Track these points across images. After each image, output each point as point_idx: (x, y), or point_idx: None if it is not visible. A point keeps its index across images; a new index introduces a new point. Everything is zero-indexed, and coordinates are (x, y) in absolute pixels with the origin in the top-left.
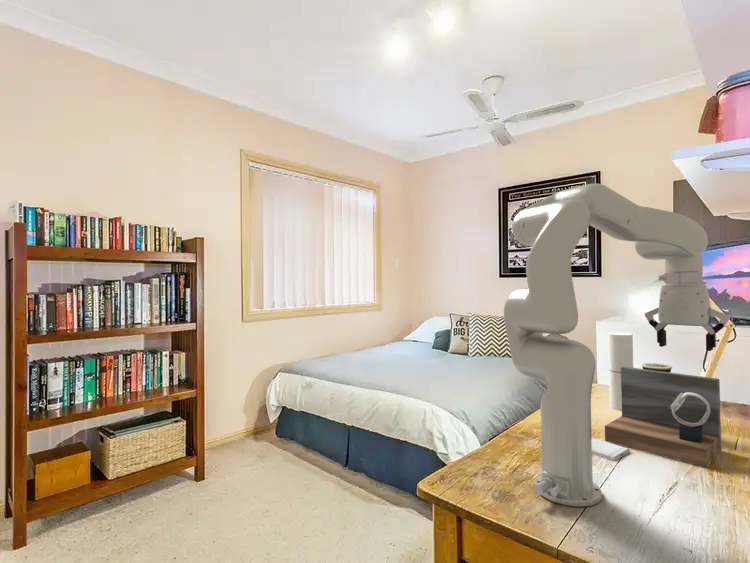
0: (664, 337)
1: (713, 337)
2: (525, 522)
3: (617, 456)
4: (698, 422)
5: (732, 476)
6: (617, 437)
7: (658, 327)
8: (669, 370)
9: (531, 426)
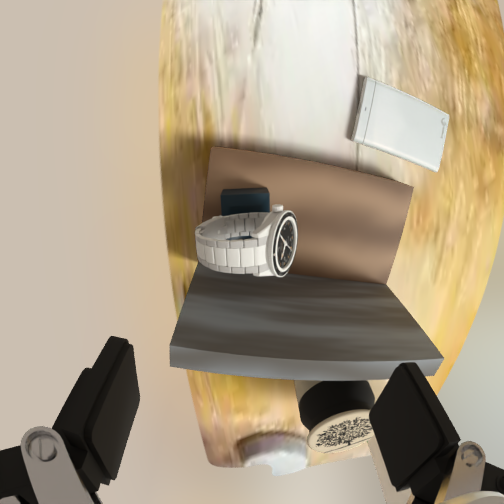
0: (399, 435)
1: (62, 417)
2: None
3: (363, 88)
4: (229, 233)
5: (174, 130)
6: (381, 177)
7: (467, 467)
8: (313, 426)
9: (497, 187)
